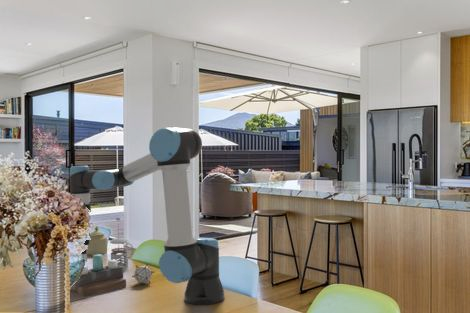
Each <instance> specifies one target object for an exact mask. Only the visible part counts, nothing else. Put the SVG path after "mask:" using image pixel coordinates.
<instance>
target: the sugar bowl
mask: <svg viewBox="0 0 470 313" xmlns="http://www.w3.org/2000/svg"><path fill="white" fill-rule="evenodd" d="M95 227H96V228H95ZM95 227H94V231H92V232H91V231H90V238H91V240H89V245H88V249H87V256H88V255H89V256H93V255H97V254H101V255H106V254H107V253H108V237H107V236H106V235H105V232H103V231H102V230H99V227H98V226H95Z"/></svg>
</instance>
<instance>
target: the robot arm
mask: <svg viewBox="0 0 470 313" xmlns="http://www.w3.org/2000/svg"><path fill="white" fill-rule="evenodd" d="M148 144H149V145H148V146H149V147H148V149H149V153H148V154H146V155H144V156H142V157H140V158H137V159H136V160H134V161H131V162H129V163H126V164H124V165H123V166H121V167H118V168H113V169H100V170H99V169H97V170H90V167H89V166H88V165H74V166H73V165H72V166H71V167H70V168H69V184H70V186H69V187H70V194H72V195H75V196H77V197H78V198H80V199H81V200H82V201H84V203H85V206H86V207H87V208H88V209H89V210H90V213H91V212H92V207H91V206H92V205H91V197H92V194H91V190H100V191H103V190H105V191H106V190H109V189H112V188H120V187H122V188H123V187H128V186H132V184H134V182H136V181H137V180H141V179H143V178H145V177H147V176H149V175H151V174H153V173H156V172H157V171H161V173H162V182H163V183H162V185H163V186H162V187H163V196H164V207H165V209H164V210H165V217H166V218H165V219H166V220H165V221H166V228H167V231H166V232H167V240H166V241H165V242H164V244H163V248H164V252H162V254H161V256H160V257H159V261H158V267H159V271H160V273H161V275H162V277H164V278H165V279H166V280H167V281H168V282H170V283H173V284H181V283H185V282H187V283H186V286H185V291H184V302H187V303H188V304H192V305H201V306H203V305H213V304H217V303H220V302H222V301H223V300H224V299H225V291H224V287H223V285H222V281H221V278H220V246H219V241H218V240H217V239H216V238H212V237H197V236H195V237H194V236H193V230H192V218H191V206H190V204H191V203H190V194H189V192H190V191H189V183H188V172H187V170H188V168H189V167H190V166H191V160H192V159H194V158H197V156H198V155H200V154H201V153H200V152H201V150H202V148H203V140H202V138H201V136H200V134H199V133H198V132H196V131H195V130H194V129H192V128H187V127H186V128H185V127H172V126H171V127H169V126H167V127H162V128H160V129H157V130H156V131H155V132H154V133H153V135H152V136H151V137H150V140H149V143H148ZM90 233H91V232H90ZM90 233H89V236H90ZM84 244H85V245H89V240H86V241H85V243H84ZM81 255H82V256H84V258H85V262H86V263H87V262H88V254H87V249H86V250H85V251H84V252H82V253H81ZM85 262H84V263H85Z"/></svg>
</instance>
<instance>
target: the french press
mask: <svg viewBox="0 0 470 313" xmlns="http://www.w3.org/2000/svg"><path fill="white" fill-rule="evenodd" d="M115 221H121V219H120V217H116V219H115ZM119 229H120V228H119V224H117V230H118V231H117V233H118V234H117V235H118V236H117V237H116V238H112V239H111V240H110V241H109V242H110V244H112V245H113V244H114V245H117V244H118V245H120V244H125V246H126V247H128V245H130V246H131V254H130V255H129V256H128V252H127V248H126V247H116V248H115V247H114V248H112V249H111V250H110V251H111V252H110V260H117V265H119V266H122V267H123V273H124V272H125V273H126V272H128V271H130V270H129V269H130V267H129V259H131V257H132V256H133V255H134V247H133V245H132V244H131V243H129V242H128V239H126V238H124V237H120V235H119V234H120V232H119V231H120V230H119Z"/></svg>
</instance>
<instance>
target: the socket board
mask: <svg viewBox="0 0 470 313" xmlns="http://www.w3.org/2000/svg"><path fill="white" fill-rule="evenodd" d="M126 287H127V279H125V278H124V272H123V267H122V266H119V265H117V268H113V269H108V265H105V266H103V270H101V271H93V268H88V274H83V275H81V276H80V278H79V279H78V280H77V282H76V283H75V284H74V285H73V286H72V287H71V286H70V290H72V291H74V292H75V291H76V293H77V292H78V293H77V294H79V295H81V296H83V297H88V296H93V295H98V294H101V293H105V292H109V291H115V290H118V289H122V288H126Z"/></svg>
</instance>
